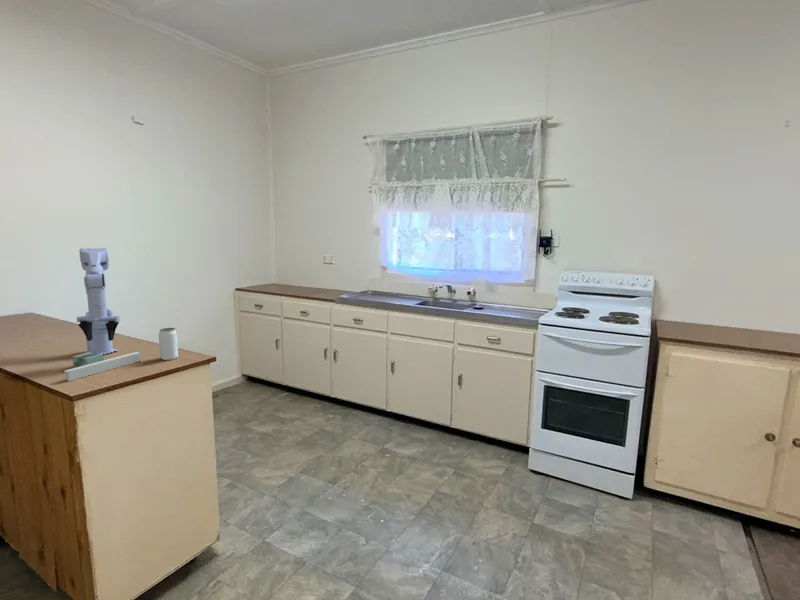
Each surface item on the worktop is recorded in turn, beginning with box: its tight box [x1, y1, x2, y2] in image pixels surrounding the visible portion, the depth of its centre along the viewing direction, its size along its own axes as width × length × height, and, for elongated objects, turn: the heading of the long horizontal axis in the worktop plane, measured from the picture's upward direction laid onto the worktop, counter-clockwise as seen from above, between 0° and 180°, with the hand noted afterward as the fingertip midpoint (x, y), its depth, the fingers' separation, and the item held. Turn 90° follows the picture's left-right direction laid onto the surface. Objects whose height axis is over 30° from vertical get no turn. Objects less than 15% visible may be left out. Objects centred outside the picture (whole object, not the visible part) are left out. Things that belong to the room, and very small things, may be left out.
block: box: [72, 352, 104, 368], centre depth 168 cm, size 8×6×4 cm
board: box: [63, 351, 142, 381], centre depth 164 cm, size 2×26×4 cm, turn 155°
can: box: [158, 327, 179, 361], centre depth 179 cm, size 6×6×12 cm
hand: (100, 340), depth 172 cm, fingers open, 7 cm apart
